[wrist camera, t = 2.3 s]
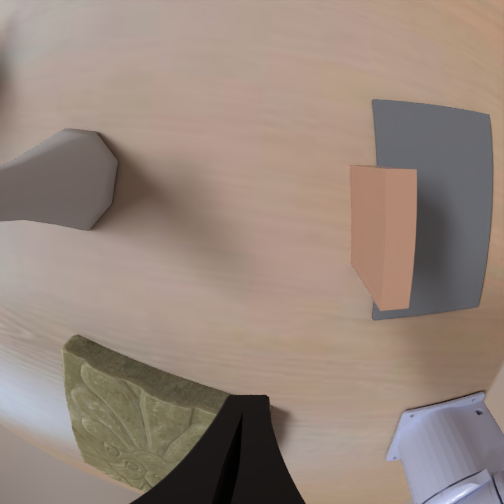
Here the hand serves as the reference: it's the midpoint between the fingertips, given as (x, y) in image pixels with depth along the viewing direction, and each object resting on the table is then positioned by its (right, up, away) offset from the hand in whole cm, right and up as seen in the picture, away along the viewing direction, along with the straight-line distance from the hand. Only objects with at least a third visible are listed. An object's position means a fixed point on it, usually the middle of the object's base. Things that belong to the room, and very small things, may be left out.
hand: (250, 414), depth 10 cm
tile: (+7, +8, +8) cm, 13 cm away
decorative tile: (-9, -13, +17) cm, 23 cm away
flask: (-12, +11, +9) cm, 19 cm away
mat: (+12, +8, +7) cm, 16 cm away
